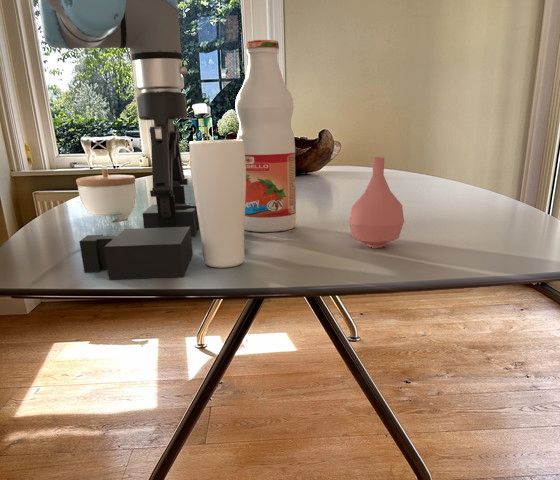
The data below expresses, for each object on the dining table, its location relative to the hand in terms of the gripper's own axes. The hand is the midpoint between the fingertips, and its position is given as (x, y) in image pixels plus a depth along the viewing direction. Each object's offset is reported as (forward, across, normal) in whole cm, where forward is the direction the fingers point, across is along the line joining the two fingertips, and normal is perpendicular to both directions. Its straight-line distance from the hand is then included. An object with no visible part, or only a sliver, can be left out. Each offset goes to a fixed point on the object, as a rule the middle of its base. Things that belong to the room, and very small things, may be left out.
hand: (175, 231), depth 100 cm
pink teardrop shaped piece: (0, -17, -31) cm, 35 cm away
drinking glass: (0, -25, -10) cm, 27 cm away
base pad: (0, -25, +2) cm, 25 cm away
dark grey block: (0, 0, 0) cm, 0 cm away
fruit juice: (0, +1, -16) cm, 16 cm away
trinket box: (0, +16, +14) cm, 21 cm away
